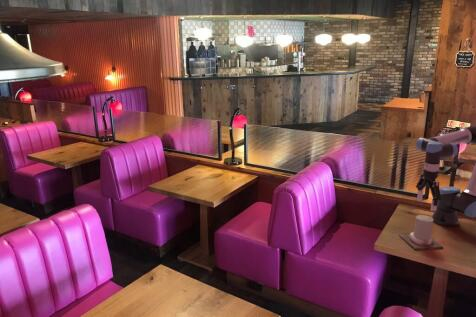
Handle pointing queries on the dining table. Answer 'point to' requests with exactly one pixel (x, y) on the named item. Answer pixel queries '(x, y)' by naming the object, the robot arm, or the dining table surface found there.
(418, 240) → the stand
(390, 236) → the dining table surface
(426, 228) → the can
